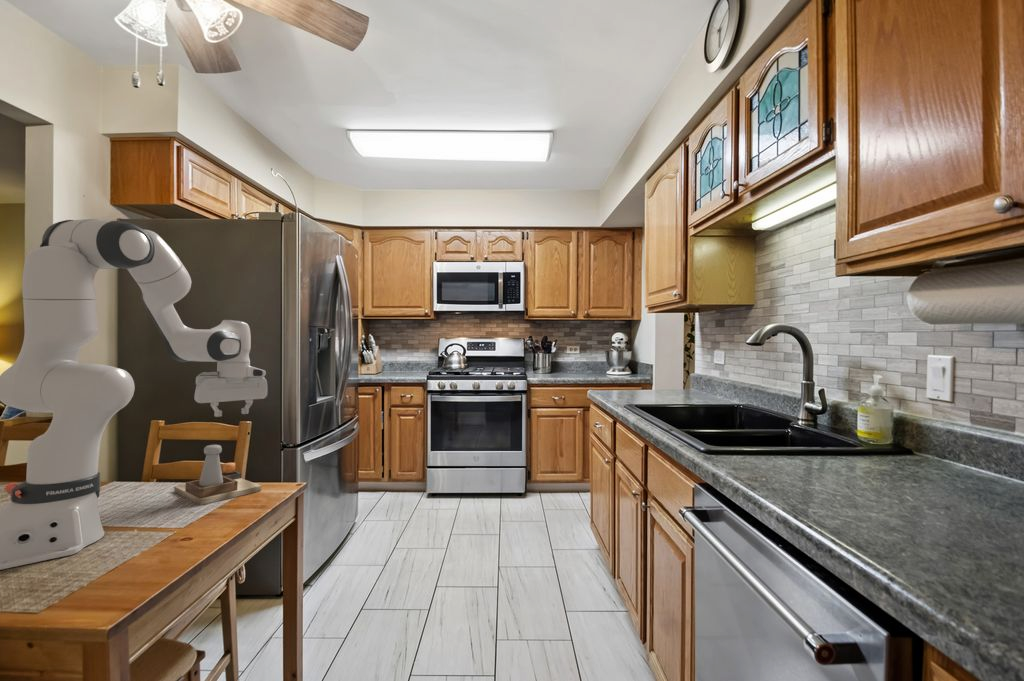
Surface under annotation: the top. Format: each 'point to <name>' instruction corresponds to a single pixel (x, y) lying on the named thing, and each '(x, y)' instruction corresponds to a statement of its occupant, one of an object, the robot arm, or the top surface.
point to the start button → (228, 467)
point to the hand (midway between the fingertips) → (231, 415)
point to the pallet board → (217, 489)
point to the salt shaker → (211, 467)
